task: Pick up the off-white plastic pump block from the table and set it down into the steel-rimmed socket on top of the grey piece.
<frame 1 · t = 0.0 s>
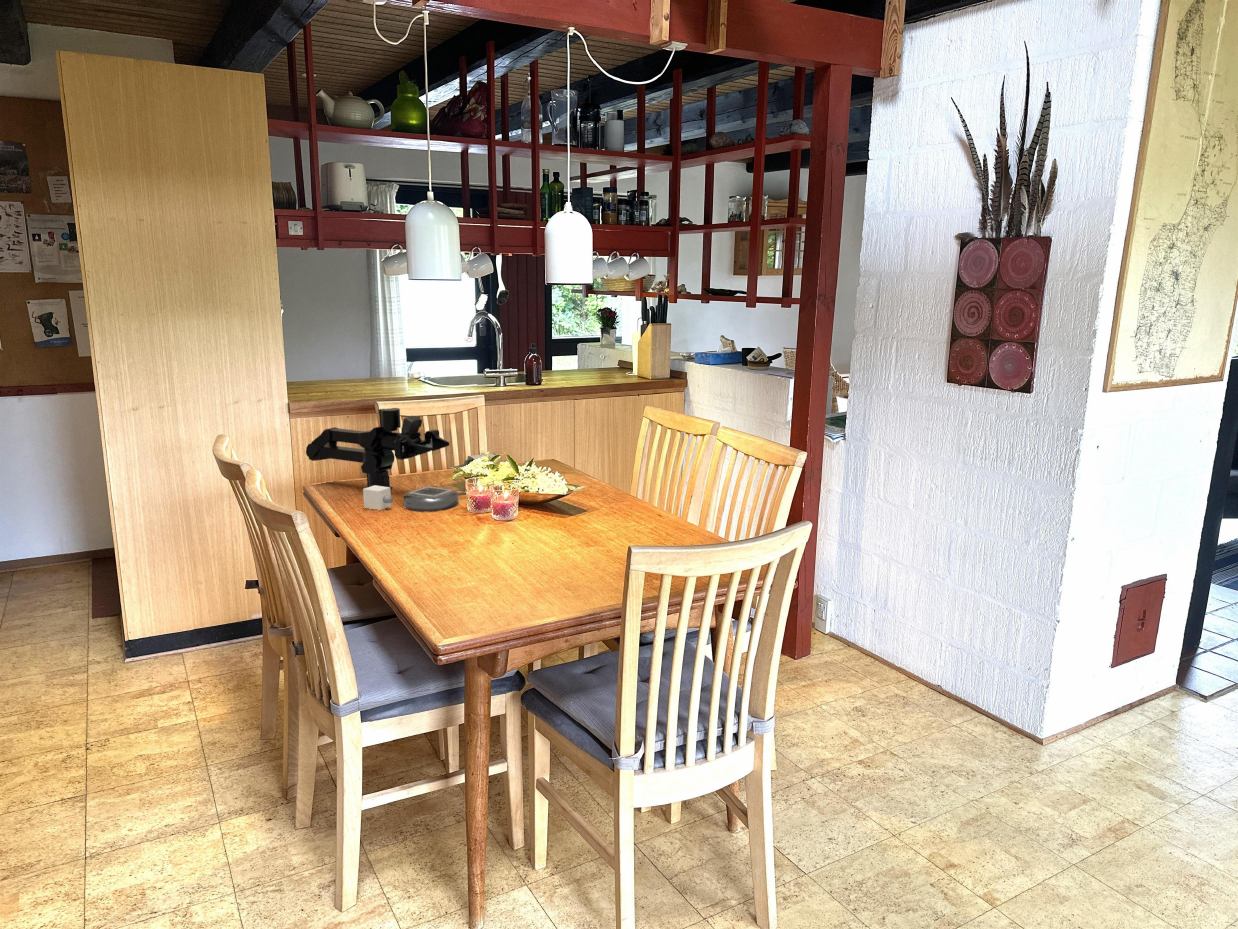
hand: (439, 446, 258), 17 cm above the table, tool horizontal, fingers open, 9 cm apart
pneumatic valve: (484, 489, 274), on the table
grey piece: (431, 504, 256), on the table
pump block: (377, 507, 253), on the table
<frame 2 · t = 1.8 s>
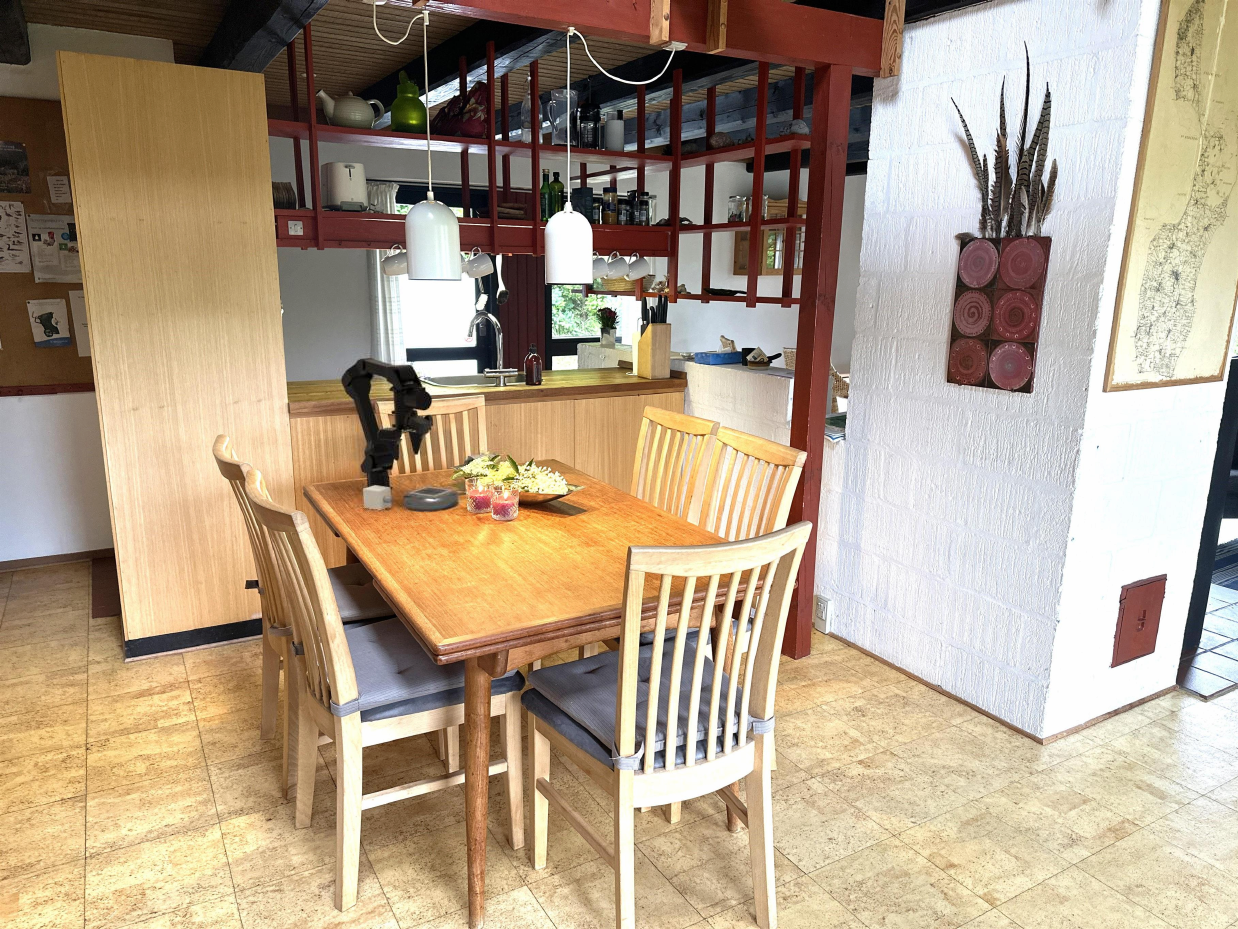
hand: (406, 457, 259), 13 cm above the table, tool pointing down, fingers open, 9 cm apart
nothing on the table moved.
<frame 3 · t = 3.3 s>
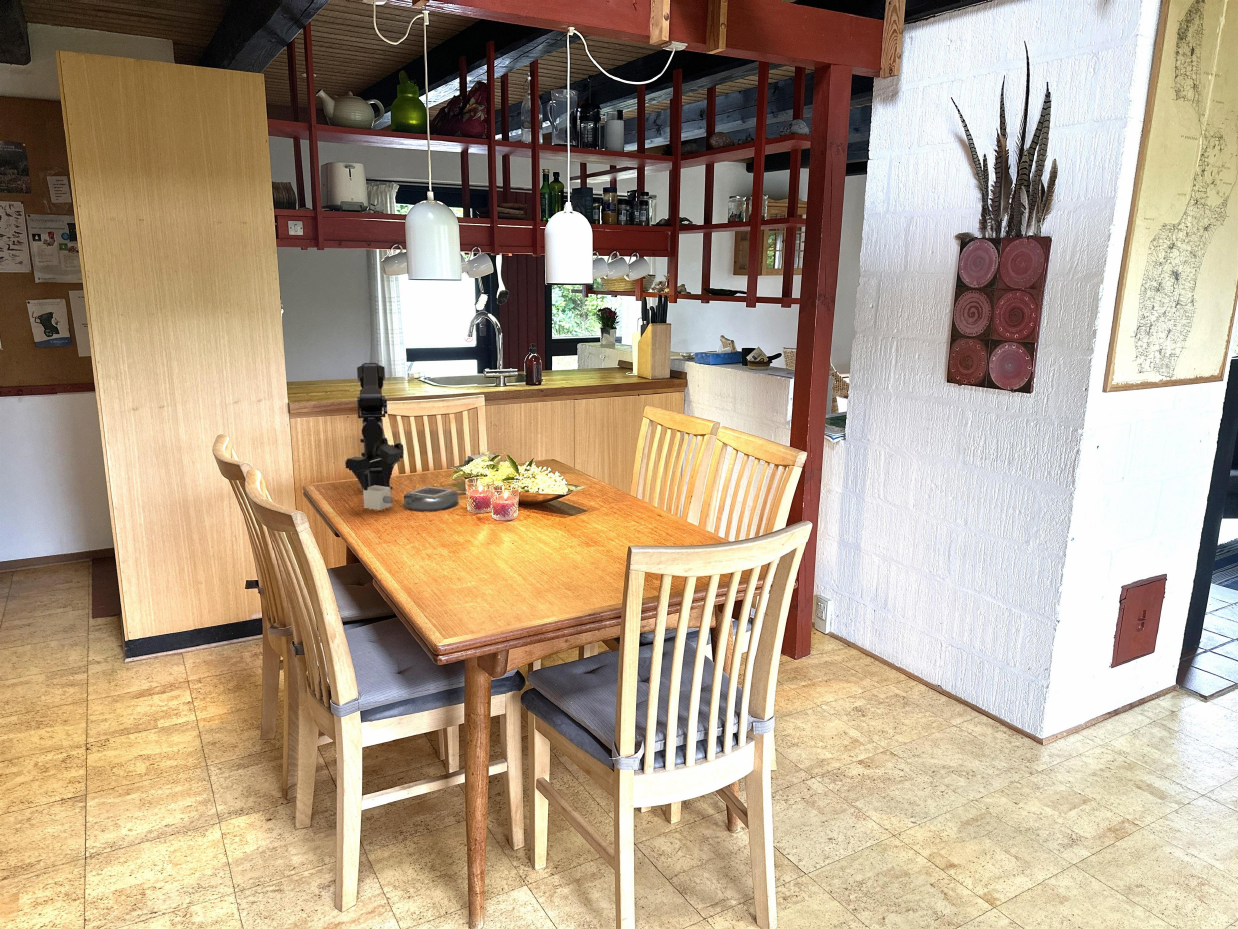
hand: (376, 486, 251), 6 cm above the table, tool pointing down, fingers open, 9 cm apart
nothing on the table moved.
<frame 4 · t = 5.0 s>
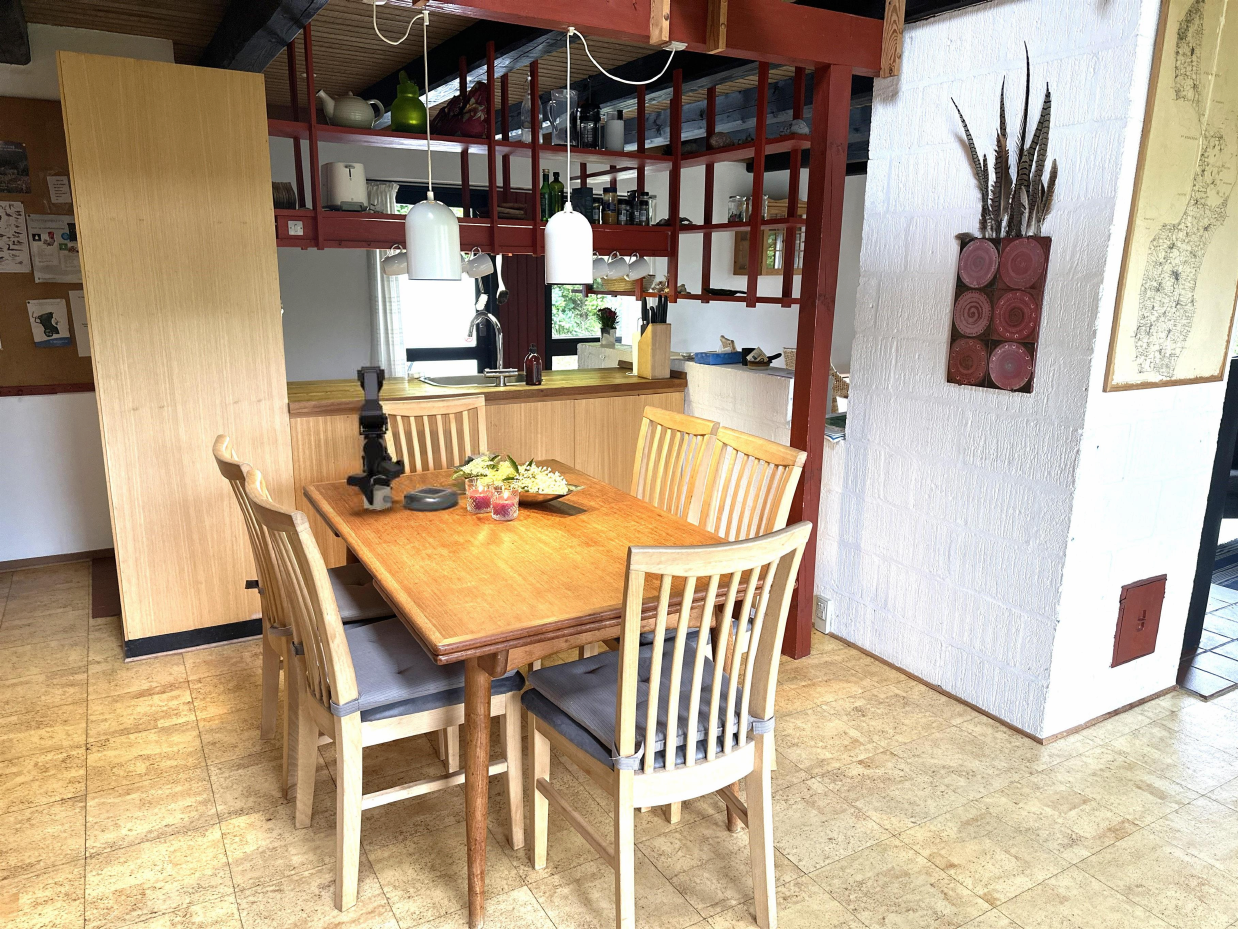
hand: (377, 503, 252), 1 cm above the table, tool pointing down, fingers closed on pump block, 5 cm apart
pump block: (377, 507, 253), on the table, touching gripper
everything else where it was.
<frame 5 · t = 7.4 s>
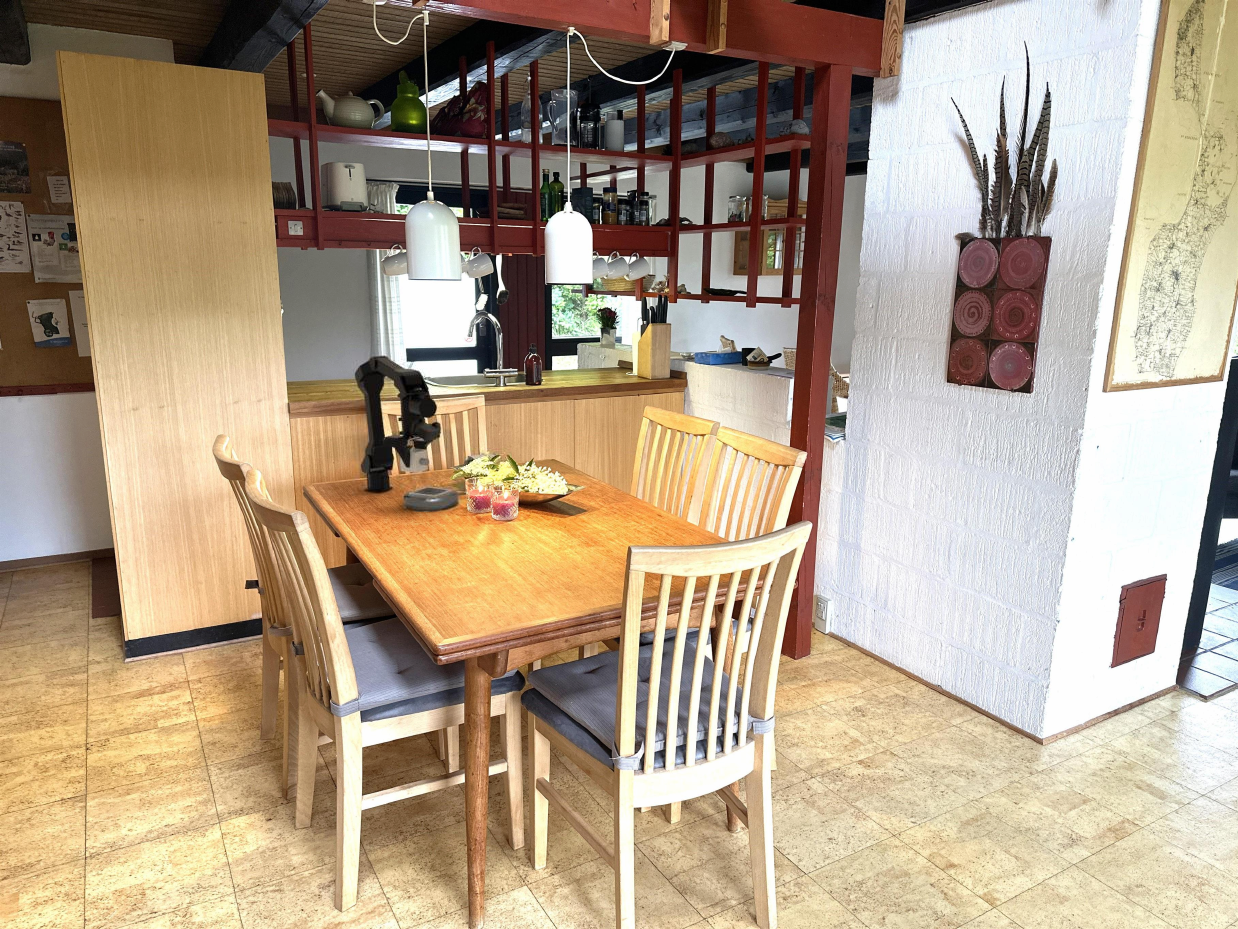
hand: (414, 465, 252), 12 cm above the table, tool pointing down, fingers closed on pump block, 5 cm apart
pump block: (414, 470, 252), point 11 cm above the table, touching gripper
everything else where it was.
when the fingers open (5 cm above the table, at t = 9.7 s): pump block drops 1 cm, resting on grey piece.
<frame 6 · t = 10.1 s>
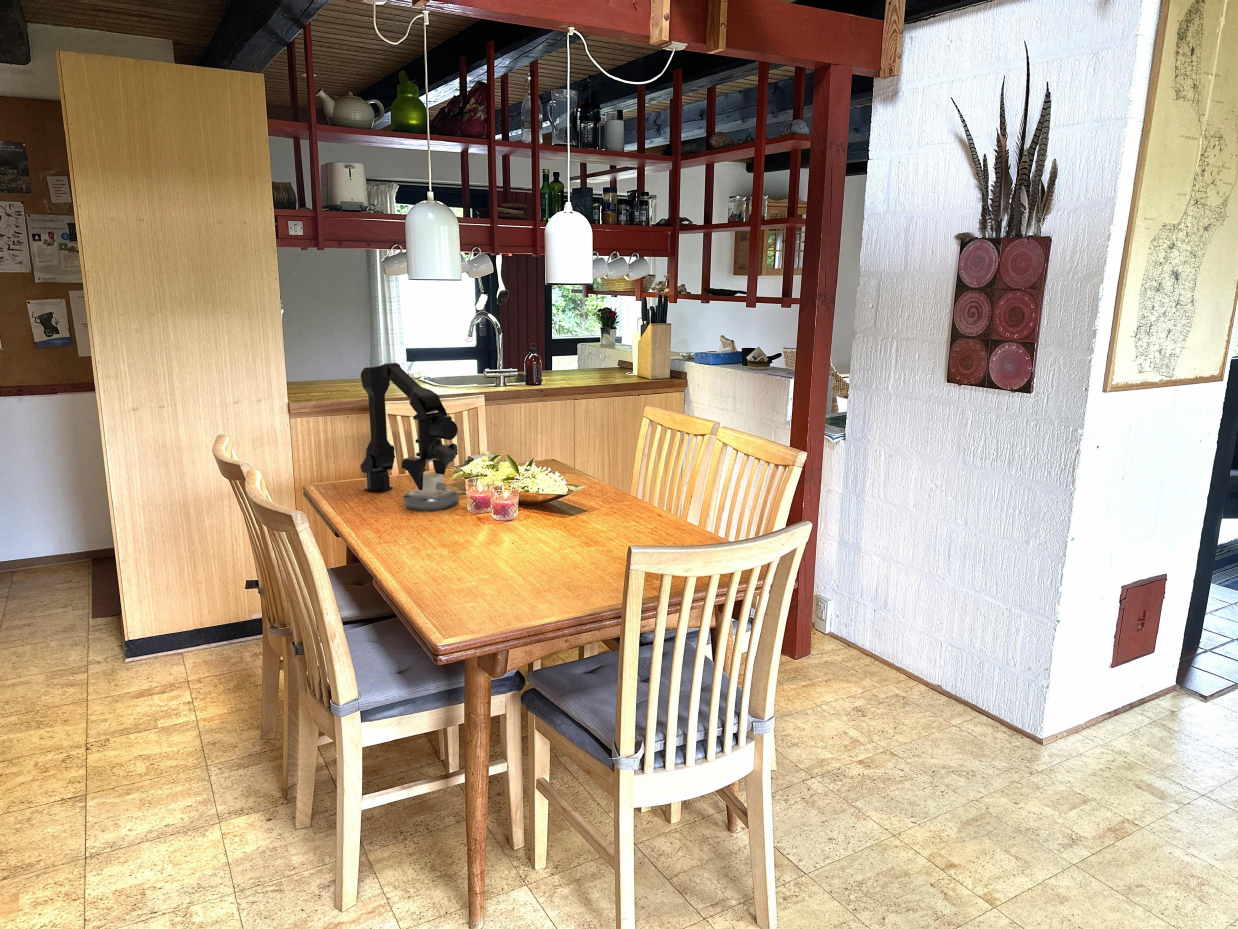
hand: (430, 486, 255), 5 cm above the table, tool pointing down, fingers open, 9 cm apart
pump block: (430, 494, 255), point 3 cm above the table, touching grey piece
everything else where it was.
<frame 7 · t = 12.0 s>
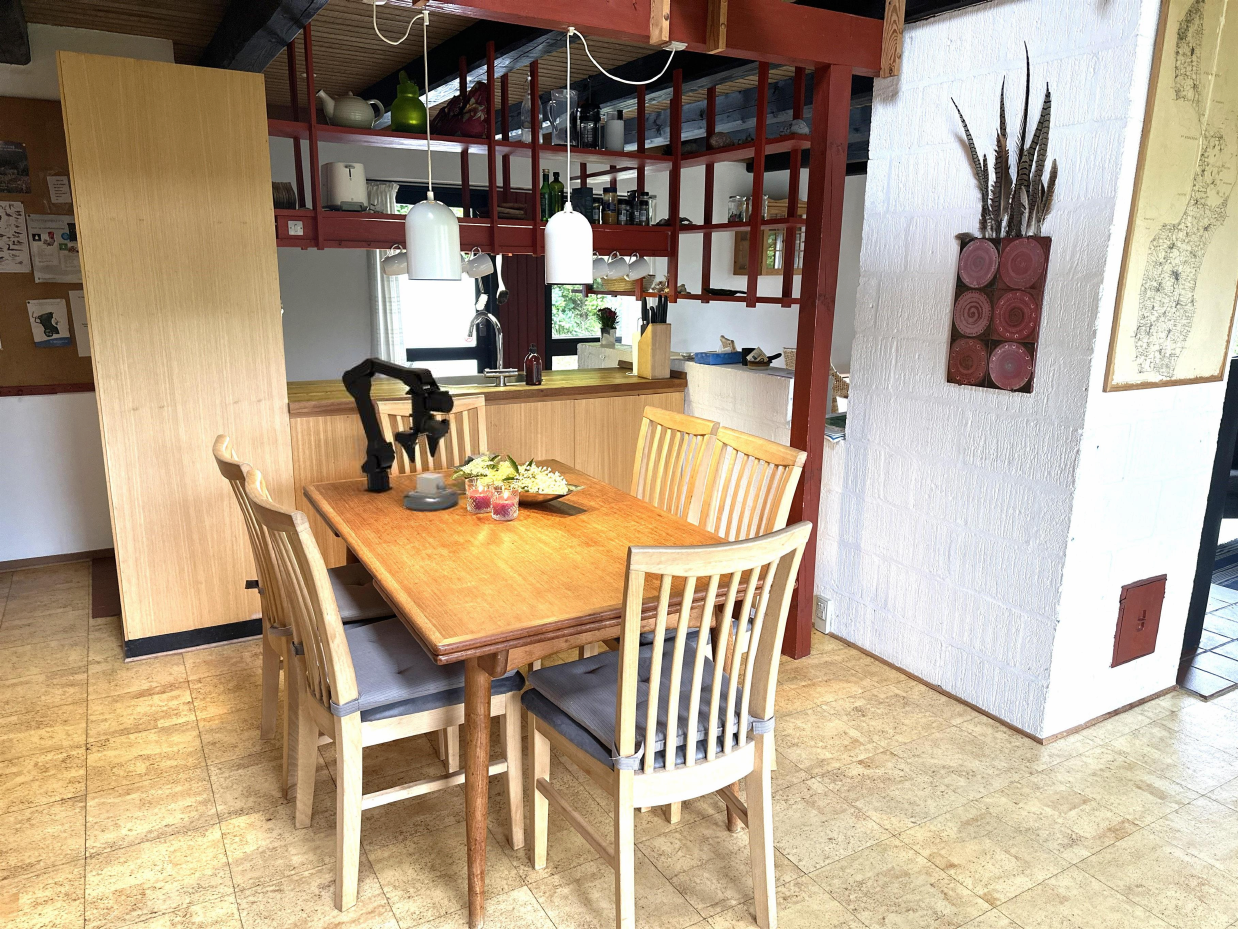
hand: (422, 460, 262), 12 cm above the table, tool pointing down, fingers open, 9 cm apart
nothing on the table moved.
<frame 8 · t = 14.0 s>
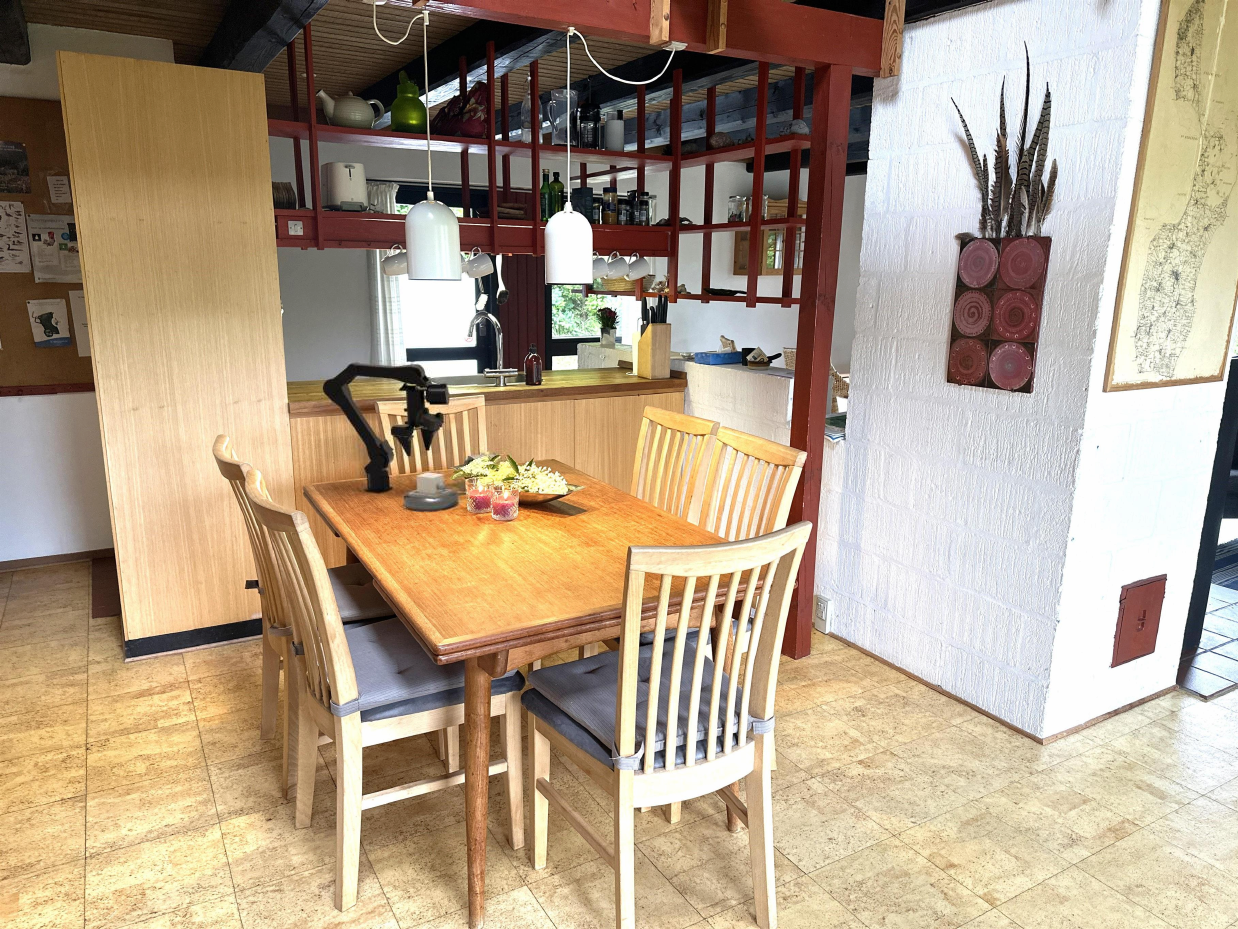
hand: (418, 453, 270), 12 cm above the table, tool pointing down, fingers open, 9 cm apart
nothing on the table moved.
at the end: pump block 0.0 cm off-centre on the grey piece, point 3.0 cm above the grey piece's base; pump block tilted 0°; the gripper is holding nothing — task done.
